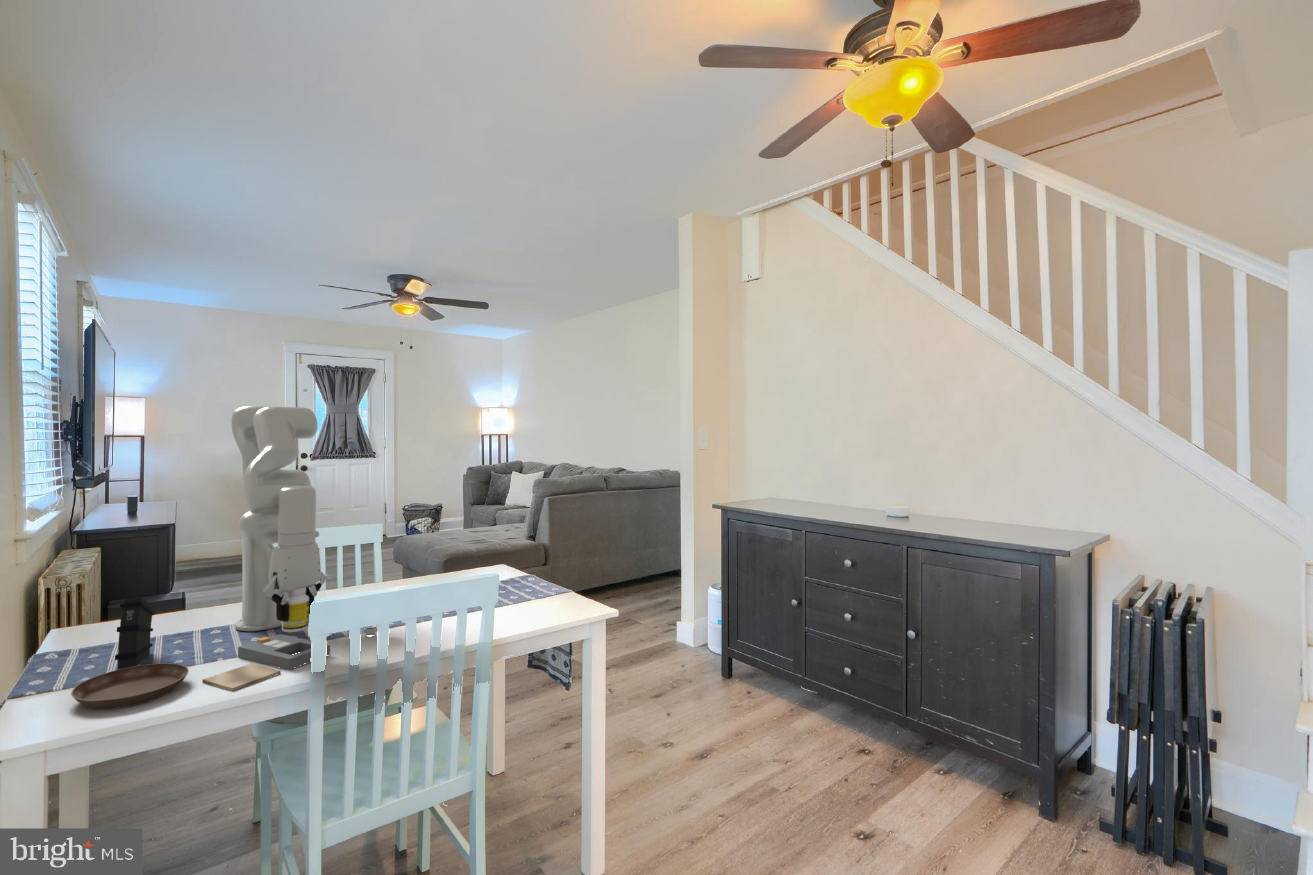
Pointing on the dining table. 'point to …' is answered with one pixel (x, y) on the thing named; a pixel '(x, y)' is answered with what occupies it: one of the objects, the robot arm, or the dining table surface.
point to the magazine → (134, 632)
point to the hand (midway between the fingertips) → (295, 615)
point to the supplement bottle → (297, 611)
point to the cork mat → (241, 677)
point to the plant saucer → (129, 686)
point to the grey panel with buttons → (278, 651)
